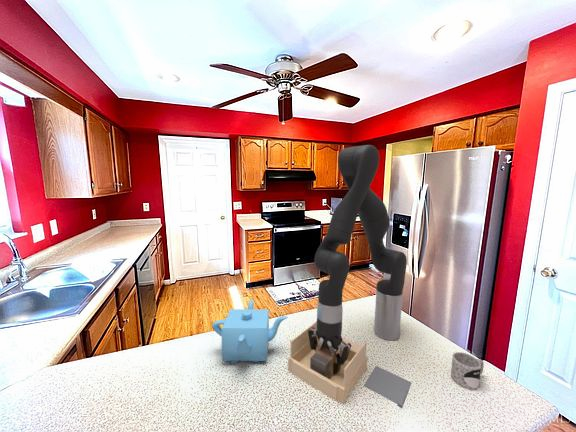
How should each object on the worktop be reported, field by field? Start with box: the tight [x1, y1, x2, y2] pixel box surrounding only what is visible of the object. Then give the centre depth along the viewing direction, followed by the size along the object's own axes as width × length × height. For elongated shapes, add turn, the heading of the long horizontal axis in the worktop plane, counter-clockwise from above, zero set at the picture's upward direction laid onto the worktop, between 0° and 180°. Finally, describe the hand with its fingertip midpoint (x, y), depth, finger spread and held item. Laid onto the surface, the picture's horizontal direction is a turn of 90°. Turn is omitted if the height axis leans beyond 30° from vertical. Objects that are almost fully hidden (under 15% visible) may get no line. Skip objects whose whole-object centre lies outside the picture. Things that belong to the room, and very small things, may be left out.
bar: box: [310, 345, 343, 380], centre depth 73 cm, size 12×5×6 cm, turn 141°
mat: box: [363, 365, 412, 409], centre depth 68 cm, size 10×10×1 cm
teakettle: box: [212, 299, 288, 365], centre depth 80 cm, size 19×19×15 cm
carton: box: [287, 320, 368, 405], centre depth 74 cm, size 20×18×10 cm
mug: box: [450, 351, 485, 391], centre depth 71 cm, size 10×7×7 cm
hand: (327, 367), depth 73 cm, fingers closed on bar, 5 cm apart
